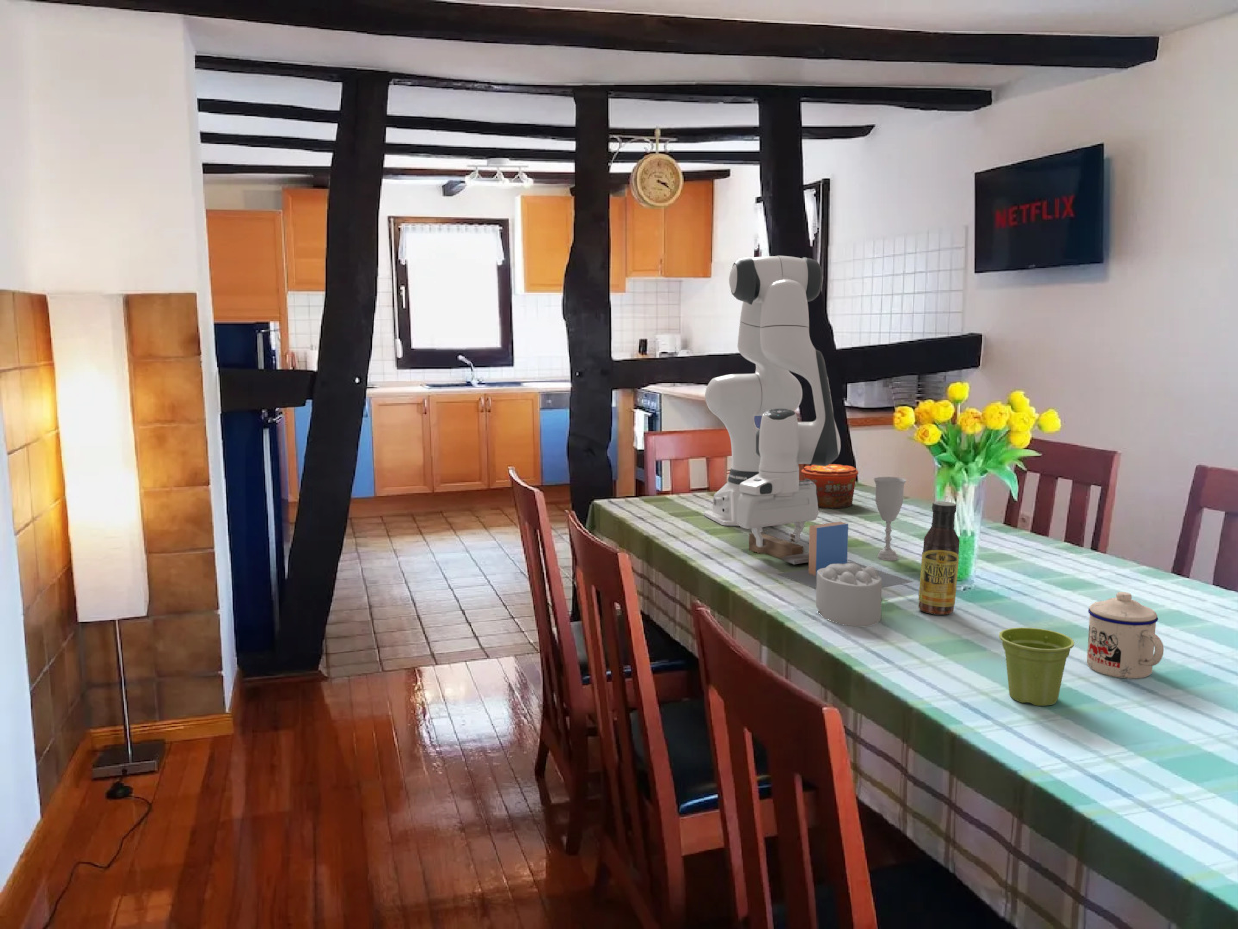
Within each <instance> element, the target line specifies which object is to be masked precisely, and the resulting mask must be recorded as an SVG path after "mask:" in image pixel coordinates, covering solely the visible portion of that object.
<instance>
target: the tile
mask: <svg viewBox="0 0 1238 929" xmlns="http://www.w3.org/2000/svg"><path fill="white" fill-rule="evenodd" d="M808 532H809V533H808V534H809V537H808V538H809V539H808V540H809V541H808V542H809V544H808V553H809V562H808V569H809V573H810V574H812V575H815V576H817V571H818V570H819V569H821V568H826V567H827V566H828V565H830V564H846V563H848V549H849V548H848V546H849V541H848V540H849V523H846V522H842V521H836V522H835V521H834V522H827V523H821V524H819V523H818V524H813V525H809V531H808Z"/></svg>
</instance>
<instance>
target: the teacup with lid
mask: <svg viewBox="0 0 1238 929" xmlns="http://www.w3.org/2000/svg"><path fill="white" fill-rule="evenodd" d="M1132 598H1133V597H1132V594H1131V593H1129V592H1127V591H1119V592H1117V593H1116V596H1115V597H1111V598H1108V599H1106V600H1101V601H1096V602H1093V603H1092V604H1091V605H1090V606H1089V608H1088V611H1087V612H1088V614H1089V618H1088V619H1089V621H1088V636H1087V651H1086V653H1087V654H1086V664H1087V666H1088V667H1089V668H1090V669H1091V670H1093V671H1095V672H1097V673H1099V674H1103V675H1105V676H1108V677H1114V678H1121V679H1129V680H1130V679H1135V680H1136V679H1144V678H1147V677H1149V676H1150V675H1152V673H1153V666H1156V665H1158V664H1159V663H1160V662H1161V660H1162V659H1163V656H1164V652H1165V650H1164V647H1165V646H1164V643H1163V641H1162V639H1161V638H1160V637H1159V636H1158V635H1157V634H1156V626H1157V624H1156V623H1157V622H1158V621H1159V618H1158V614H1157V612H1156V611H1155V610H1153V609H1152V608H1150V607H1148V606H1145V605H1143V604H1141V603H1140V602H1138V601H1137V600H1134V599H1132Z"/></svg>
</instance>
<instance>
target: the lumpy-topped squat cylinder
mask: <svg viewBox="0 0 1238 929" xmlns="http://www.w3.org/2000/svg"><path fill="white" fill-rule="evenodd" d="M855 563H856V562H854V563H848V562H847V563H846V564H830V565H828V566H827V567H826V568H821V569H819V570H818V571H817V586H816V589H815V590H816V591H815V592H816V593H815V594H816V596H815V597H816V598H815V607H816V608H817V610H818V612H817V613H818V614H819V613H820V614H821V615H822V616H823V617H824V620H826V619H829V620H831V621H830V622H832V621H834V622H833V623H835V622H837V623H836V624H838V623H840V624H839V625H842V624H844V625H843V626H849V627H856V626H865V627H871V626H874V625H876V624H878V623H879V622H880V621H881V618H882V595H883V594H882V593H883V592H882V591H883V590H882V588H883V587H882V579H881V578H880V577H879V576H878V573H877V570H878V569H876V568H875V567H873V566H867V567H866V568H861V567H860V566H859V565H857V564H858V563H857V564H855ZM820 614H819V615H820ZM821 615H820V616H821ZM822 616H821V617H822ZM823 617H822V618H823ZM829 620H828V621H829ZM879 620H880V621H879Z"/></svg>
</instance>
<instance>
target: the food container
mask: <svg viewBox="0 0 1238 929" xmlns="http://www.w3.org/2000/svg"><path fill="white" fill-rule="evenodd" d="M800 471H801V472H800V474H801V475H803V481H805V480H811V481H812V482H813V483H814V484H815V485H816V495H817V502H818V509H819V508H822V509H844V508H848V507H851V506H852V505H853V499H854V493H855V486H856V481H857V480H856V479H857V475H859V471H858V469H857V468H856V467H854V466H851V465H843V464H835V463H833V464H832V463H830V464H829V465H827V466H819V465H811V464H810V465H805V466H804V467H803V468H802V469H801V470H800ZM811 484H812V483H811Z"/></svg>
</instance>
